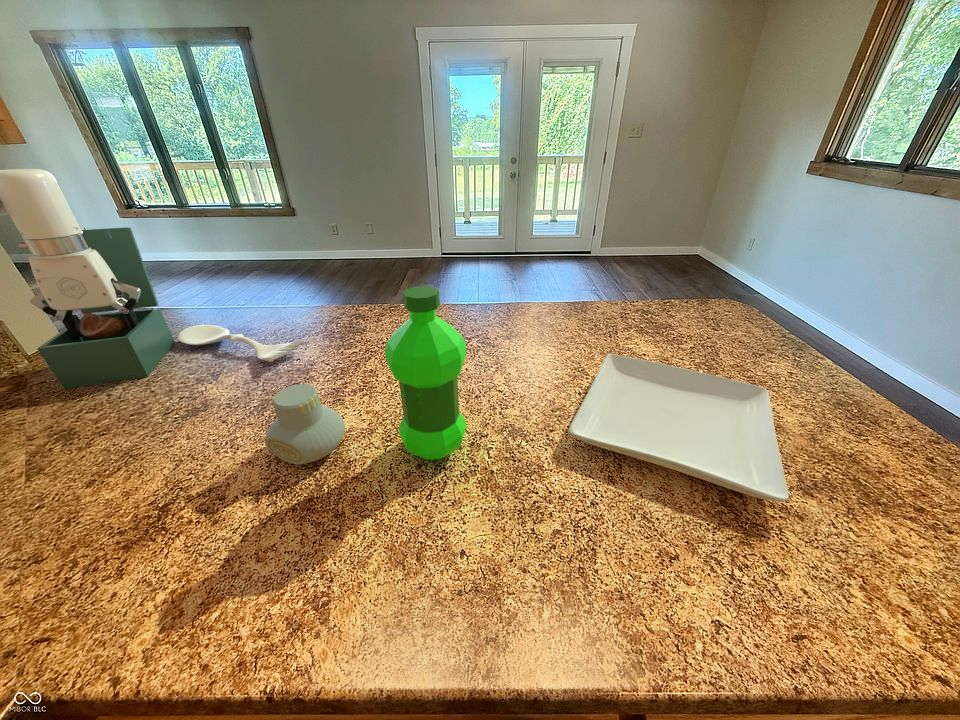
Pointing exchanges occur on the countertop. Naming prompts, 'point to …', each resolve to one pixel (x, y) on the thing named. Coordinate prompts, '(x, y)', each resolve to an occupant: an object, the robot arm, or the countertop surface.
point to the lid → (122, 263)
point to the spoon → (216, 333)
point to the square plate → (685, 424)
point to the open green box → (109, 352)
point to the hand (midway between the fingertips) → (107, 332)
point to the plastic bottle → (427, 376)
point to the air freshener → (303, 426)
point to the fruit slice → (100, 326)
